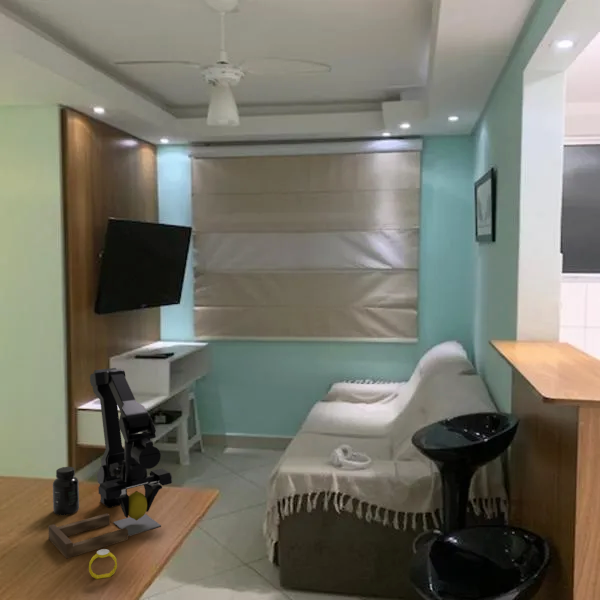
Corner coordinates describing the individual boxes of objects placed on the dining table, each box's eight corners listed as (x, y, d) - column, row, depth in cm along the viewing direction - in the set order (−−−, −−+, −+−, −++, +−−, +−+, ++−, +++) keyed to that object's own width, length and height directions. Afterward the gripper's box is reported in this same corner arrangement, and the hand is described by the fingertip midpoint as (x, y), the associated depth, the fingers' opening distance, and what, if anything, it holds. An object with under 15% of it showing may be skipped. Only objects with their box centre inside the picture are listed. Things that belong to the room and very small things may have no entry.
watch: (116, 573, 141) (117, 547, 141) (116, 579, 138) (118, 553, 138) (88, 575, 139) (89, 549, 139) (88, 581, 136) (89, 555, 136)
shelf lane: (107, 522, 167) (107, 509, 166) (127, 539, 157) (127, 526, 156) (48, 539, 157) (48, 525, 156) (66, 558, 147) (66, 544, 146)
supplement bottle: (48, 511, 173) (47, 470, 172) (70, 503, 179) (69, 463, 178) (62, 518, 169) (61, 475, 168) (84, 509, 174) (83, 468, 174)
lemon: (151, 517, 167) (151, 488, 166) (139, 526, 162) (139, 496, 161) (133, 514, 169) (133, 486, 168) (121, 522, 163) (121, 493, 163)
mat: (144, 514, 172) (144, 513, 172) (160, 526, 164) (160, 525, 164) (113, 523, 166) (113, 521, 166) (129, 536, 158) (129, 535, 158)
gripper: (154, 443, 176) (154, 496, 177) (89, 457, 164) (91, 513, 165) (172, 453, 167) (173, 508, 169) (106, 468, 155) (107, 528, 157)
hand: (136, 514), depth 165 cm, fingers closed on lemon, 5 cm apart
